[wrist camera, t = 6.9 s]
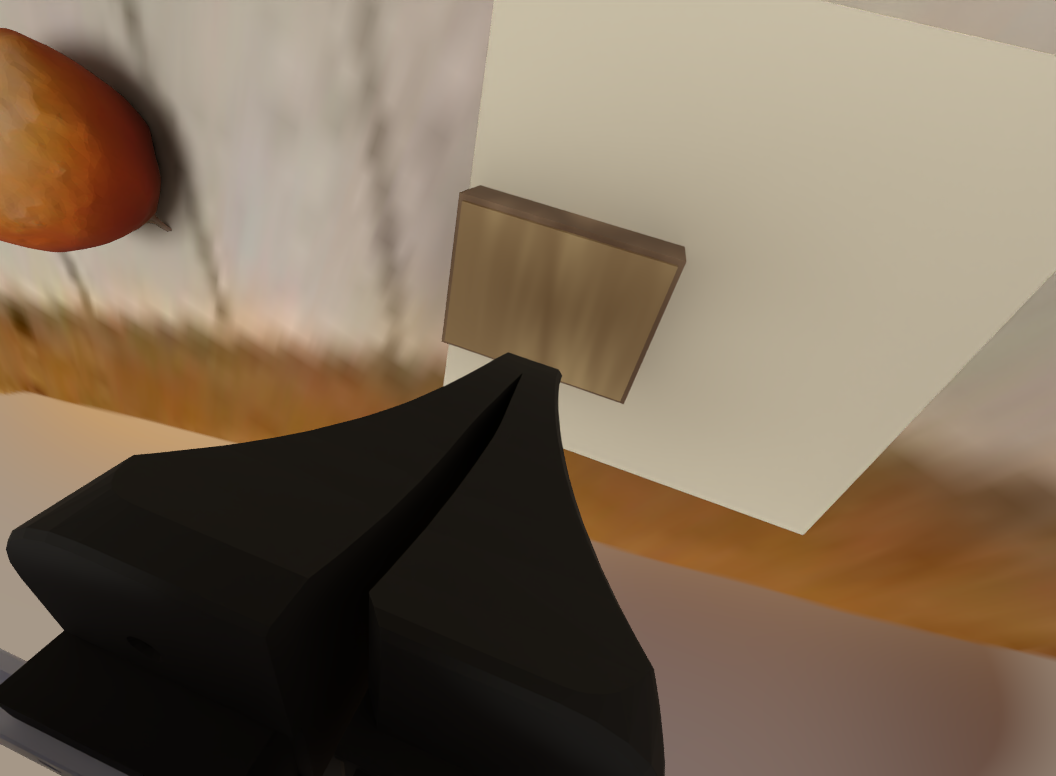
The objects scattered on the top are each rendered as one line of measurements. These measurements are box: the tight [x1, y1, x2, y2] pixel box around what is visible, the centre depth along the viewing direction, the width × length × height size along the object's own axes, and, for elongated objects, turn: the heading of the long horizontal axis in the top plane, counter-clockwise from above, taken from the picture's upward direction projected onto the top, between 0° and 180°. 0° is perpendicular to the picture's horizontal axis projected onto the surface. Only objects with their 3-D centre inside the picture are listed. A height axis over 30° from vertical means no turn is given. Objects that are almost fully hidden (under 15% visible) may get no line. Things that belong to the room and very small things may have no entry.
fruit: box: [0, 28, 172, 252], centre depth 18 cm, size 8×8×8 cm
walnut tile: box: [442, 185, 686, 404], centre depth 17 cm, size 2×6×8 cm
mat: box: [444, 0, 1056, 535], centre depth 17 cm, size 19×18×1 cm
